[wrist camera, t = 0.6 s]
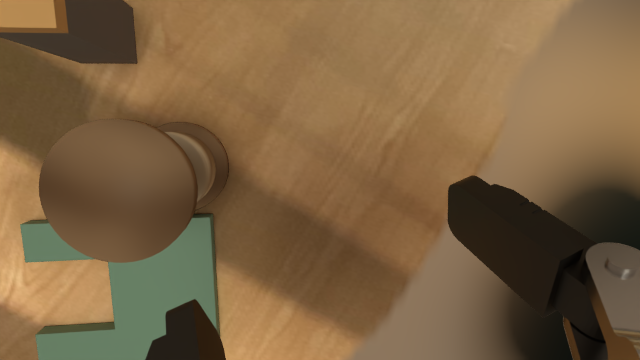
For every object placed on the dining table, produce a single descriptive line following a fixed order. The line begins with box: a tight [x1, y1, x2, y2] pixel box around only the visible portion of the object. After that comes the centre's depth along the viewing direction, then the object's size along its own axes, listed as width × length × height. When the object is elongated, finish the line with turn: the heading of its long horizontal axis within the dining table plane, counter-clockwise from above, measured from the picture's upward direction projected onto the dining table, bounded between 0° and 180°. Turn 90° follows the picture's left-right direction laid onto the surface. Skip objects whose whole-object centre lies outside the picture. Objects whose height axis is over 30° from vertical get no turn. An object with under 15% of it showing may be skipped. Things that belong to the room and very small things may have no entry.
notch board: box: [20, 214, 220, 360], centre depth 29 cm, size 12×14×1 cm
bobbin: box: [39, 119, 229, 263], centre depth 23 cm, size 7×7×12 cm
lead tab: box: [0, 0, 137, 64], centre depth 22 cm, size 4×4×10 cm
